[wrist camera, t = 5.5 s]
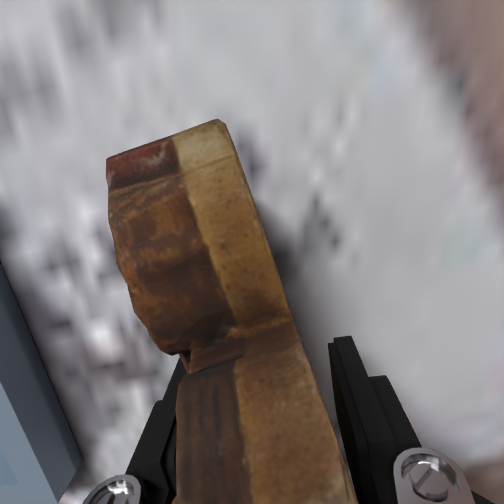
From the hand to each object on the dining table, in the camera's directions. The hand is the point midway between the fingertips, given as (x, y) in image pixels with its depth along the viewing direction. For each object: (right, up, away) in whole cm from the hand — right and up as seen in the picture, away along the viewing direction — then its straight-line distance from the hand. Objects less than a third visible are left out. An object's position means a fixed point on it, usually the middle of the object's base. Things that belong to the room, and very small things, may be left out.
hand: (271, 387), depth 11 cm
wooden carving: (0, +1, +3) cm, 3 cm away
